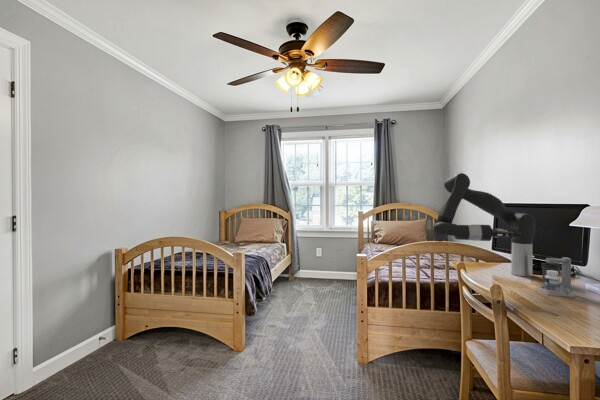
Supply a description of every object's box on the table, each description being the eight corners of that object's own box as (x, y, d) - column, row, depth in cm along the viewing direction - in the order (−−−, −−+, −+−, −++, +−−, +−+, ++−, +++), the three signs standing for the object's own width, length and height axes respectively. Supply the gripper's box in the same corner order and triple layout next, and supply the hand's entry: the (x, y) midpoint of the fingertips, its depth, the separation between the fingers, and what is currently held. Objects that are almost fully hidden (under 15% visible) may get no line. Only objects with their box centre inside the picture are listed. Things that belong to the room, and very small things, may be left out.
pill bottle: (543, 288, 139) (543, 269, 139) (558, 290, 136) (558, 270, 136) (545, 291, 134) (545, 271, 134) (561, 293, 132) (561, 273, 131)
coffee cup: (566, 285, 145) (566, 264, 144) (548, 285, 145) (549, 264, 145) (552, 281, 153) (552, 261, 152) (535, 280, 153) (536, 261, 153)
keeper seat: (536, 288, 141) (536, 254, 141) (562, 290, 138) (563, 255, 138) (547, 295, 132) (547, 259, 131) (575, 297, 129) (575, 260, 128)
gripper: (482, 226, 136) (525, 226, 132) (474, 223, 150) (512, 223, 145) (482, 243, 136) (525, 244, 132) (474, 238, 150) (512, 239, 145)
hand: (518, 233), depth 138 cm, fingers open, 8 cm apart
